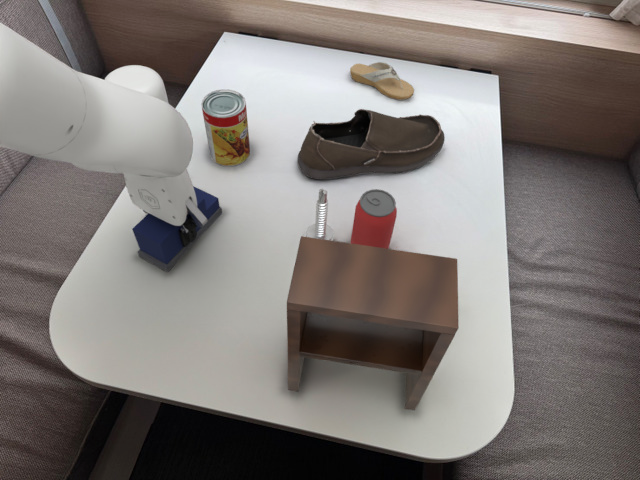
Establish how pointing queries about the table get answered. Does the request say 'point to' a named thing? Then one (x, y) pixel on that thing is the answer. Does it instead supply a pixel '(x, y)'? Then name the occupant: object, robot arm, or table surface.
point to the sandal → (382, 79)
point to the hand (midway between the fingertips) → (174, 232)
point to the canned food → (226, 127)
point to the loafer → (369, 145)
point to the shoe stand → (371, 310)
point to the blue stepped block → (171, 233)
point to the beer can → (374, 219)
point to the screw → (321, 220)
